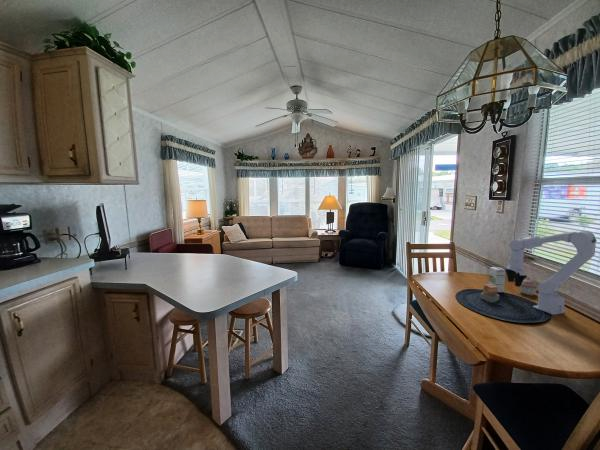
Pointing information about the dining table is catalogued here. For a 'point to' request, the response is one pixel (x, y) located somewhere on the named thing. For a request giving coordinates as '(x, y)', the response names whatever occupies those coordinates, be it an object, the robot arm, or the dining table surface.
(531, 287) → the cupcake
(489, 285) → the terracotta cube
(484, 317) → the dining table surface
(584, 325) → the dining table surface
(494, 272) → the syrup box
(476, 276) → the dining table surface
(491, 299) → the slate slab block
